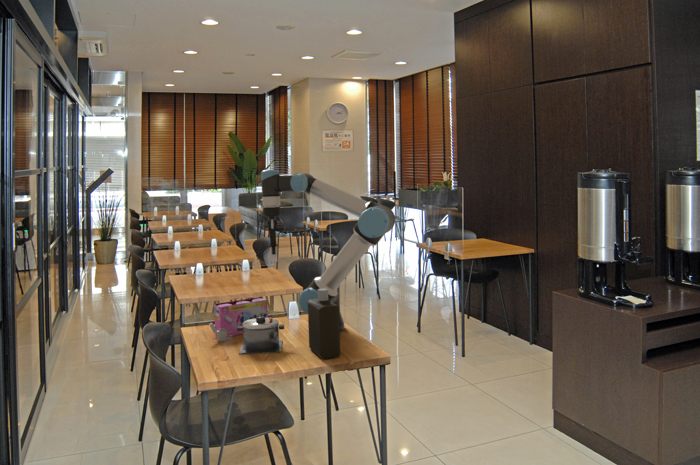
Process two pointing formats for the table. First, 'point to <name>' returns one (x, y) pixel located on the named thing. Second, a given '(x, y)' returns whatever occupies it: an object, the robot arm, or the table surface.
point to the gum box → (238, 313)
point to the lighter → (219, 333)
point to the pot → (261, 340)
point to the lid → (260, 323)
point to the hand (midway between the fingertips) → (274, 261)
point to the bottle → (324, 326)
